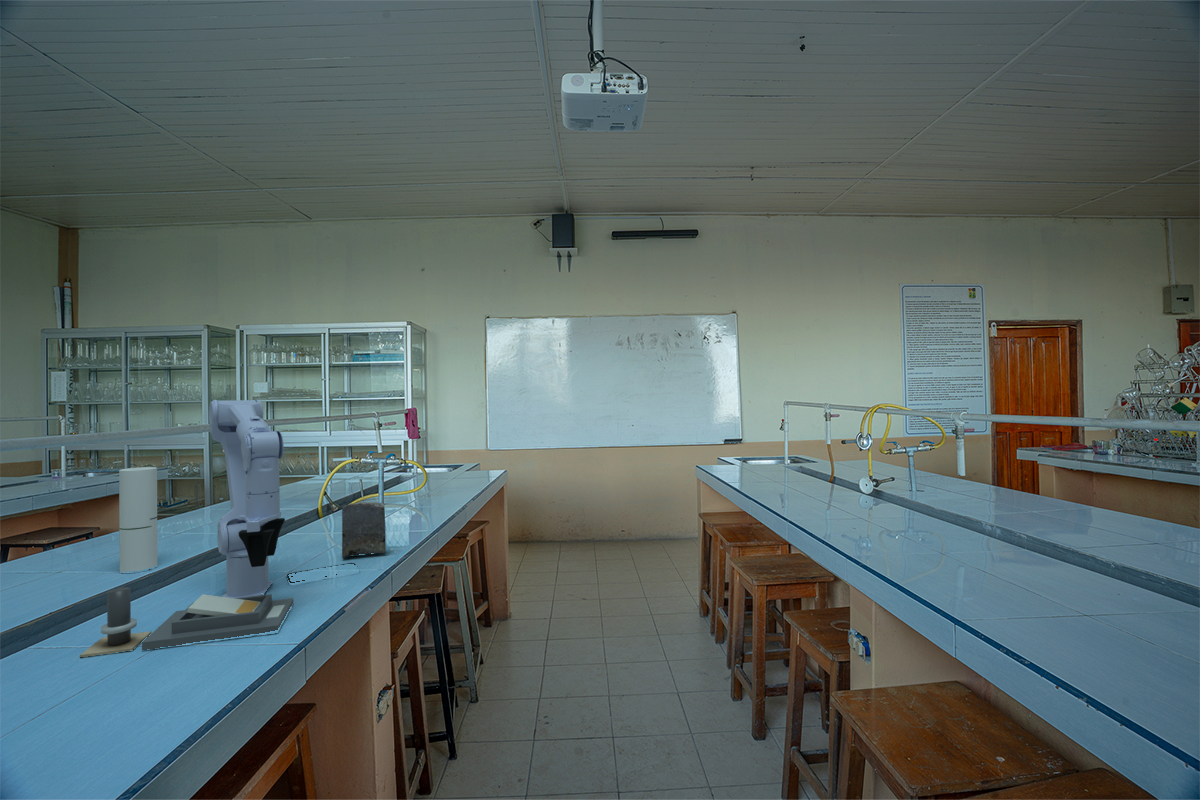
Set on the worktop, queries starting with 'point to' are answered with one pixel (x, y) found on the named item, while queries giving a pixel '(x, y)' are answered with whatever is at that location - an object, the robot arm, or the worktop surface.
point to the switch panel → (219, 624)
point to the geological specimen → (363, 528)
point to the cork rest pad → (103, 647)
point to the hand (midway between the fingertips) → (263, 560)
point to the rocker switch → (222, 605)
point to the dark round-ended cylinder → (118, 617)
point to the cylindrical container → (138, 518)
